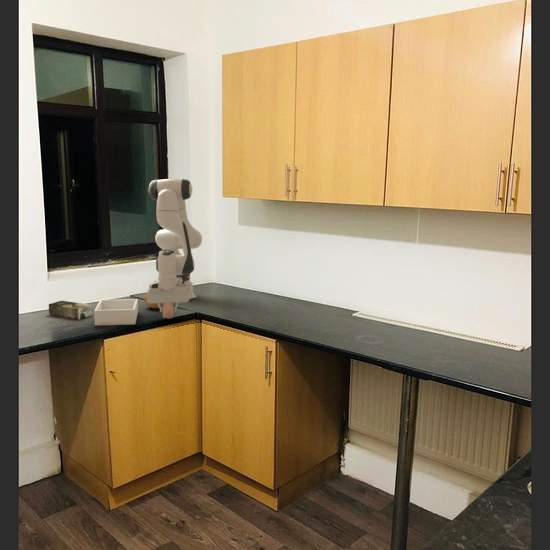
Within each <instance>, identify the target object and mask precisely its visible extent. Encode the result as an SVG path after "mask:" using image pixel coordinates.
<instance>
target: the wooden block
mask: <svg viewBox="0 0 550 550" xmlns="http://www.w3.org/2000/svg"><path fill="white" fill-rule="evenodd" d="M173 307H174V303H172V302H164V303H163V312H162V318H163V319H165V318H167V319H168V320H169V319H173V318H174V312H173Z"/></svg>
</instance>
